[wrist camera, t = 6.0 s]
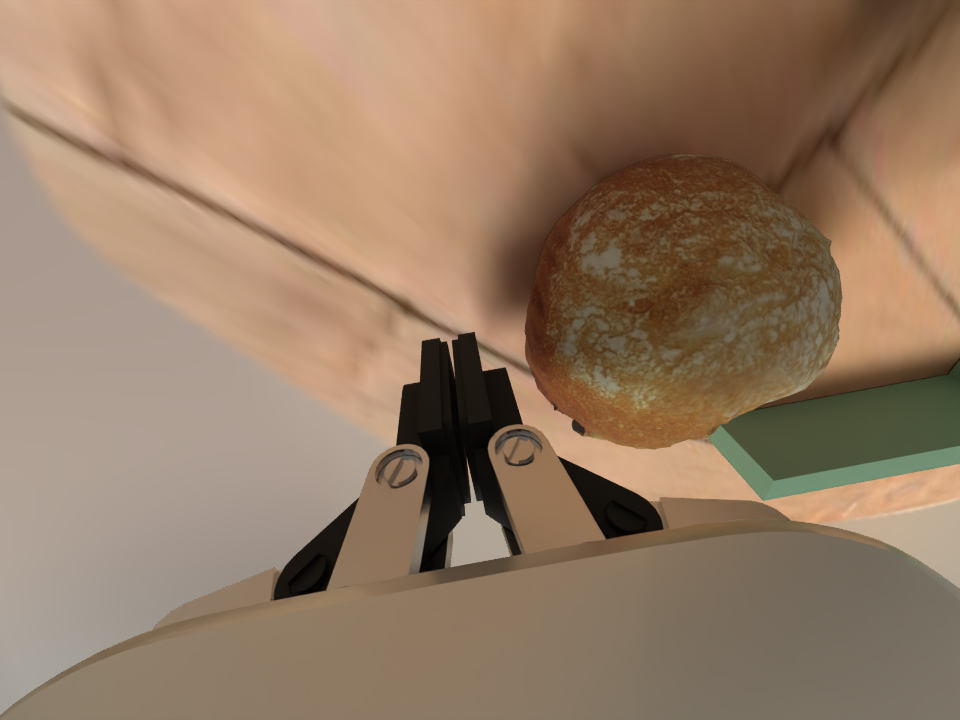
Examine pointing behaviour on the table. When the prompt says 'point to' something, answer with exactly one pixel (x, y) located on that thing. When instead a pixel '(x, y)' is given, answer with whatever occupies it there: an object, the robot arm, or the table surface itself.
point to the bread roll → (679, 302)
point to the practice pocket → (846, 437)
